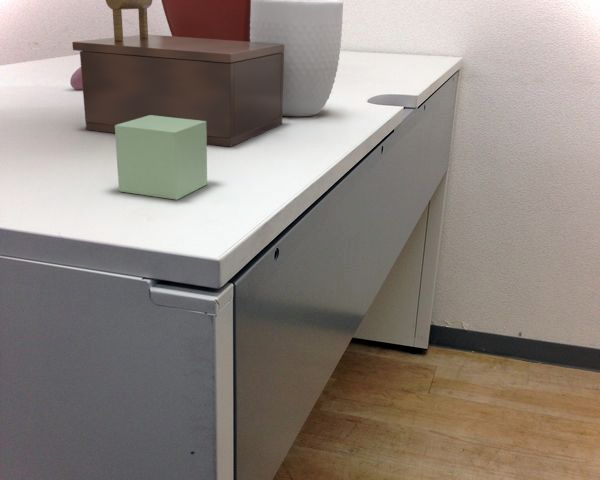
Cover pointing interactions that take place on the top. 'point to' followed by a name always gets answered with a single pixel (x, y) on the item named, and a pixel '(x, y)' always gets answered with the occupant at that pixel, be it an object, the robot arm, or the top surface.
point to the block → (161, 156)
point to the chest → (184, 93)
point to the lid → (171, 41)
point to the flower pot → (209, 19)
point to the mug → (302, 48)
